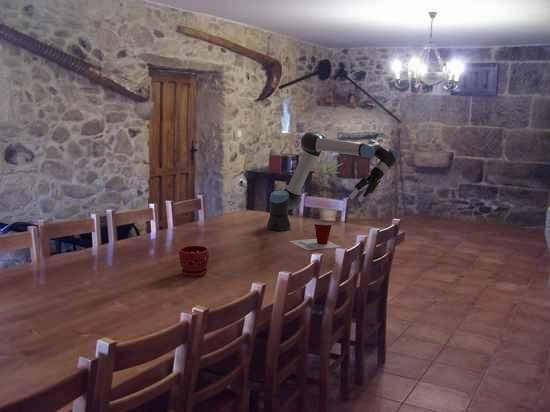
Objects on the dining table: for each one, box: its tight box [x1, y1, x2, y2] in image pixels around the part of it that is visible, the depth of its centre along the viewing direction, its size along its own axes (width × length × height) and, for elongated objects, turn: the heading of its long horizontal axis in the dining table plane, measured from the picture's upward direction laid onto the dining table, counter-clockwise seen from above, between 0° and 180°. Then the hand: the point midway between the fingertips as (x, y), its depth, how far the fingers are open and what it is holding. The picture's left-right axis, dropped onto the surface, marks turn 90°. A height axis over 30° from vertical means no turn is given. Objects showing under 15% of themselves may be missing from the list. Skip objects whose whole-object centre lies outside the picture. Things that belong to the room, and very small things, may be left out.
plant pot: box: [178, 245, 210, 278], centre depth 258 cm, size 13×13×12 cm
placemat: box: [288, 238, 342, 251], centre depth 324 cm, size 22×22×1 cm
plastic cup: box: [313, 221, 333, 244], centre depth 325 cm, size 11×11×12 cm
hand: (354, 199), depth 331 cm, fingers open, 8 cm apart
